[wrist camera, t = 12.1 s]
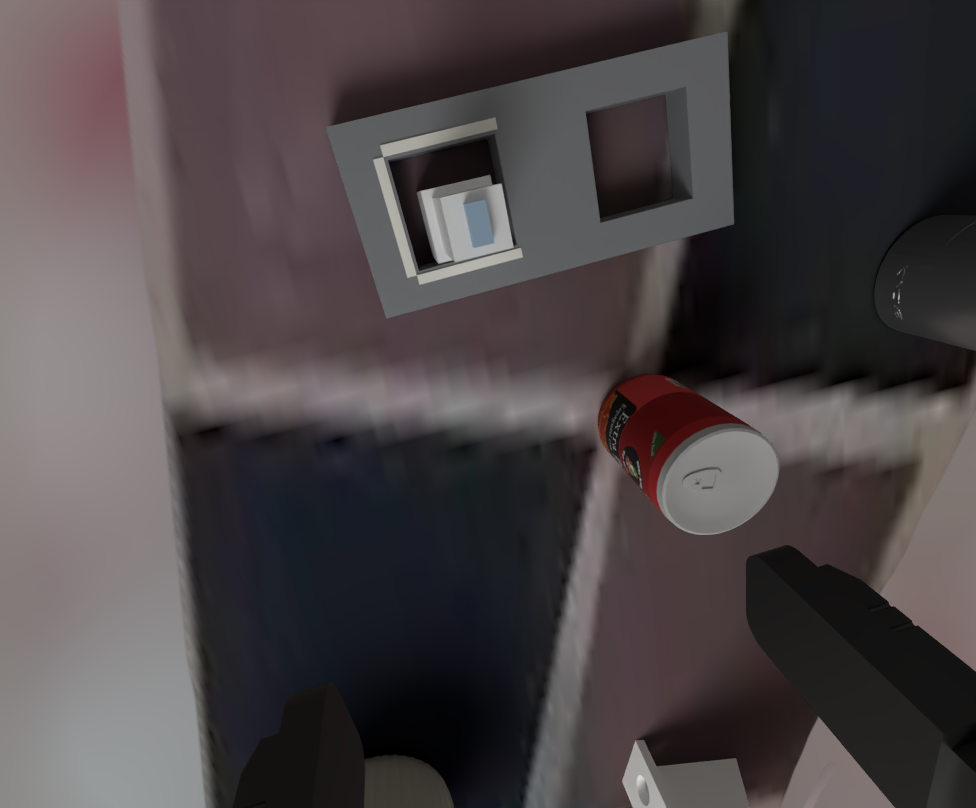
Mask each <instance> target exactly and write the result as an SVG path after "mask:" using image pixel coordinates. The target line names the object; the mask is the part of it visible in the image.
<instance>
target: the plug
mask: <svg viewBox="0 0 976 808" xmlns="http://www.w3.org/2000/svg"><path fill="white" fill-rule="evenodd" d="M416 193H417V197H418V201H419V205H420V209H421V213H422V217H423V221H424V225H425V229H426V233H427V237H428V241H429V245H430V249H431V253H432V256H433V258H434V259H435V260H436V261H437V262H438V264H439V263H443V262H447V261H451V260H453V261H454V262H458V261H462V260H466V259H470V258H474V257H478V256H482V255H486V254H490V253H494V252H498V251H503V250H507V249H511V248H514V247H513V242H512V237H511V231H510V226H509V221H508V215H507V210H506V205H505V199H504V194H503V189H502V183H501V184H495V185H492V182H491V177H490V175H487V176H483V177H479V178H474V179H470V180H466V181H462V182H457V183H453V184H449V185H444V186H440V187H436V188H432V189H427V190H423V191H419V192H416Z"/></svg>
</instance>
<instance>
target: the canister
mask: <svg viewBox="0 0 976 808" xmlns="http://www.w3.org/2000/svg"><path fill="white" fill-rule="evenodd" d="M364 808H454V805H453V801H452V798H451V795H450V792H449V790H448V788H447V786H446V783H445V781H444V780H443V778H442V777H441V776H440V775H439V773H438V772H437V771H436V770H435V769H434V768H432V767H431V766H430V765H429V764H428V763H424V762H423V761H422V760H420V759H415V758H414V757H407V756H405V755H402V756H398V755H396V754H395V755H384V756H375V757H373V758H366V759H365V794H364Z"/></svg>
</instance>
